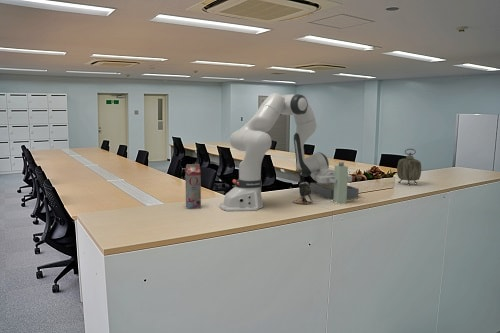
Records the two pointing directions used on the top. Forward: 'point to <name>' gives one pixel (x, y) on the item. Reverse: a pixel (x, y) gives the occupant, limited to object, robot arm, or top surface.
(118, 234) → the top surface
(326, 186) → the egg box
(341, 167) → the drink bottle
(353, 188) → the tray
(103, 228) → the top surface
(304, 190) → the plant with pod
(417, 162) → the tabletop clock
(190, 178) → the juice carton
